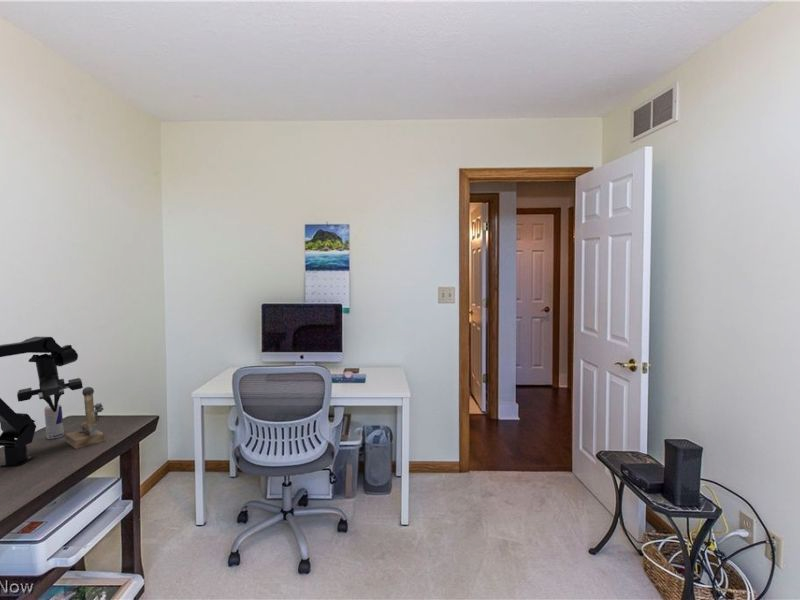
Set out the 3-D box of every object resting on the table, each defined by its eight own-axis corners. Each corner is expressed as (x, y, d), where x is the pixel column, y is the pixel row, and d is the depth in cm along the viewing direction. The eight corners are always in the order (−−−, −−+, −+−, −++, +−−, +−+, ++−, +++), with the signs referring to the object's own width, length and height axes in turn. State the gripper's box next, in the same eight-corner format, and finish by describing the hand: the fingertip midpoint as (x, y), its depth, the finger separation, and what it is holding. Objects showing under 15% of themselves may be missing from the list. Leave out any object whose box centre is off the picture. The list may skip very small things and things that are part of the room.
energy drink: (67, 434, 182) (64, 404, 181) (56, 439, 176) (53, 408, 176) (54, 434, 182) (52, 404, 181) (43, 439, 177) (40, 408, 176)
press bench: (76, 448, 166) (74, 429, 166) (65, 441, 173) (64, 423, 173) (104, 441, 173) (102, 422, 173) (93, 434, 180) (91, 417, 180)
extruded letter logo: (99, 412, 210) (98, 400, 209) (103, 412, 210) (102, 399, 210) (83, 430, 186) (82, 416, 186) (88, 430, 187) (87, 416, 186)
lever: (87, 434, 170) (83, 388, 169) (84, 432, 172) (80, 387, 171) (98, 431, 173) (95, 386, 171) (95, 429, 175) (91, 385, 174)
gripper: (12, 382, 154) (21, 426, 157) (80, 369, 166) (87, 411, 168) (14, 374, 163) (22, 416, 166) (78, 363, 174) (84, 402, 177)
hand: (55, 411), depth 169 cm, fingers closed
